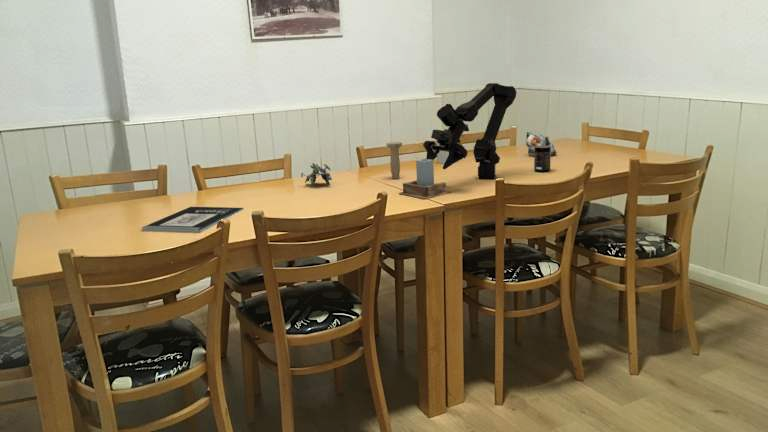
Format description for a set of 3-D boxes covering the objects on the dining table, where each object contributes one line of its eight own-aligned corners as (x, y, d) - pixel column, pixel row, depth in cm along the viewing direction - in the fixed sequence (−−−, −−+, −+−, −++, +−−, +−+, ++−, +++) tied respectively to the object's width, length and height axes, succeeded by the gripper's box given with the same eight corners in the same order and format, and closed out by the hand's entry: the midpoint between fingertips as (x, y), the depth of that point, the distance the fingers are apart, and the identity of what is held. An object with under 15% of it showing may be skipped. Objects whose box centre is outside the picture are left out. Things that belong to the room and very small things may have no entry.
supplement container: (552, 170, 270) (553, 145, 267) (547, 173, 264) (547, 148, 262) (537, 169, 273) (537, 145, 271) (531, 172, 268) (531, 147, 265)
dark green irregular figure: (328, 197, 264) (339, 176, 257) (305, 197, 258) (315, 175, 251) (318, 179, 270) (328, 157, 264) (295, 178, 264) (305, 156, 257)
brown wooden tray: (425, 187, 248) (424, 177, 247) (451, 192, 238) (451, 182, 237) (398, 194, 239) (398, 183, 238) (424, 199, 229) (424, 188, 228)
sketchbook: (244, 211, 228) (243, 205, 227) (199, 235, 200) (198, 229, 199) (190, 209, 233) (190, 204, 233) (140, 232, 205) (139, 226, 205)
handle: (404, 178, 267) (403, 143, 263) (390, 180, 265) (389, 144, 261) (400, 176, 272) (399, 141, 268) (386, 178, 270) (385, 143, 266)
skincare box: (452, 160, 303) (451, 129, 299) (456, 162, 297) (456, 130, 294) (435, 162, 301) (434, 130, 298) (439, 164, 296) (438, 132, 292)
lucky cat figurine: (561, 156, 301) (553, 132, 293) (537, 167, 301) (530, 143, 294) (547, 143, 313) (540, 119, 306) (525, 153, 314) (517, 130, 306)
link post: (425, 189, 242) (424, 157, 239) (434, 191, 239) (433, 159, 235) (417, 192, 239) (416, 159, 236) (425, 193, 236) (424, 160, 233)
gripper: (425, 119, 245) (405, 152, 242) (461, 122, 232) (441, 157, 228) (440, 137, 252) (421, 169, 249) (476, 140, 239) (457, 174, 235)
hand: (434, 167), depth 240 cm, fingers open, 9 cm apart
